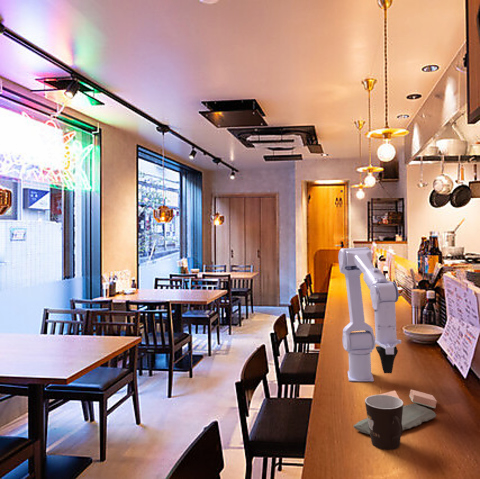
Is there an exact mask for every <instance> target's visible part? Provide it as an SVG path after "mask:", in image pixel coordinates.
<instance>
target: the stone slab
mask: <svg viewBox="0 0 480 479" xmlns="http://www.w3.org/2000/svg"><path fill="white" fill-rule="evenodd" d="M436 417H437V413H436V412H435V411H433V410H432V409H430V408H427V407H426V406H424V405H420V404H418V403H411V404H406V405H403V412H402V429H403V431H405V430H408V429H411V428H413V427H417V426H419V425H422V423H424V422H429V421H430V420H433V419H434V418H436ZM353 428H354V429H355V430H357V431H359V432H360V433H363V434H367V435H370V430H369V424H368V417H366V418H364V419H361V420H359V421H357V423H355V424H353Z"/></svg>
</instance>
